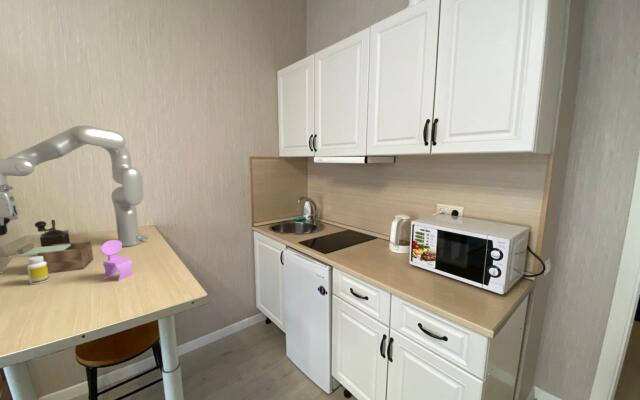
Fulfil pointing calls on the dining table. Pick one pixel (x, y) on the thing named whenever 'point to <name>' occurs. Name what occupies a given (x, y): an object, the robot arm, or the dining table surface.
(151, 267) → the dining table surface
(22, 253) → the lid
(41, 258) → the supplement bottle
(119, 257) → the toy chair
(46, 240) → the brown manual coffee grinder
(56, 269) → the box
